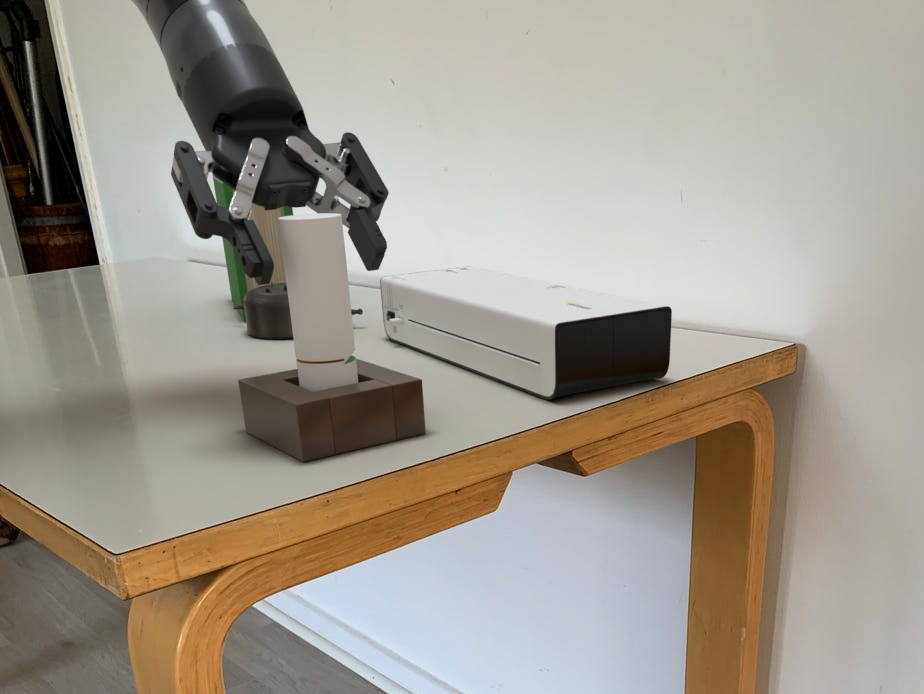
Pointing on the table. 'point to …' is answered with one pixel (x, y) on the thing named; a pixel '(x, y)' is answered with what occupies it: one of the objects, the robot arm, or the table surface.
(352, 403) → the socket block
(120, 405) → the table surface
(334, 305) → the tube
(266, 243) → the hardback book
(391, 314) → the laminator
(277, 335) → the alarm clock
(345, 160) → the robot arm
